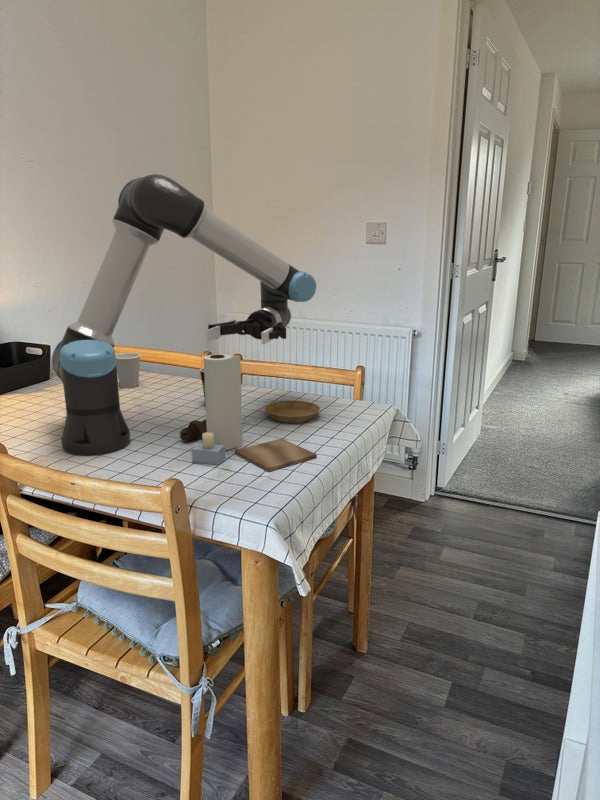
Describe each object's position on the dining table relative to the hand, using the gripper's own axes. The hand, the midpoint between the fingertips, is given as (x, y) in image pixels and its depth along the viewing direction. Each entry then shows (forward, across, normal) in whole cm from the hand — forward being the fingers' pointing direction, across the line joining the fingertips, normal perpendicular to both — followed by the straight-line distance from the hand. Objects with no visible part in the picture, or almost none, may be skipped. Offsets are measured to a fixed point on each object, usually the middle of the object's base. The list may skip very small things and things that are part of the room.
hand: (235, 337), depth 137 cm
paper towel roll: (+10, 0, -24) cm, 26 cm away
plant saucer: (-17, -9, -25) cm, 31 cm away
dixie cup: (-34, +50, -24) cm, 65 cm away
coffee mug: (-24, +16, -24) cm, 38 cm away
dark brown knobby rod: (+2, +8, -24) cm, 26 cm away
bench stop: (+18, 0, -24) cm, 30 cm away
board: (+12, -13, -24) cm, 30 cm away
